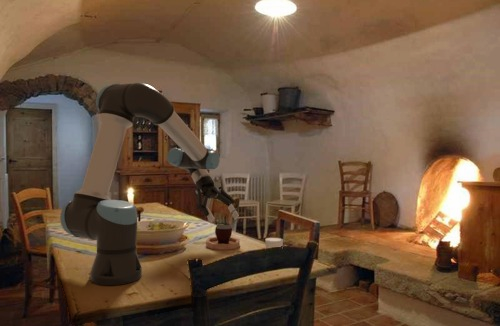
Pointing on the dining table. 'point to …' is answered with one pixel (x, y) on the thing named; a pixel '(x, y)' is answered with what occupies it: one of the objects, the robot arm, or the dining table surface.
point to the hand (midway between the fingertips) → (225, 219)
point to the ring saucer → (213, 244)
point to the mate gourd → (224, 231)
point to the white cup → (273, 242)
